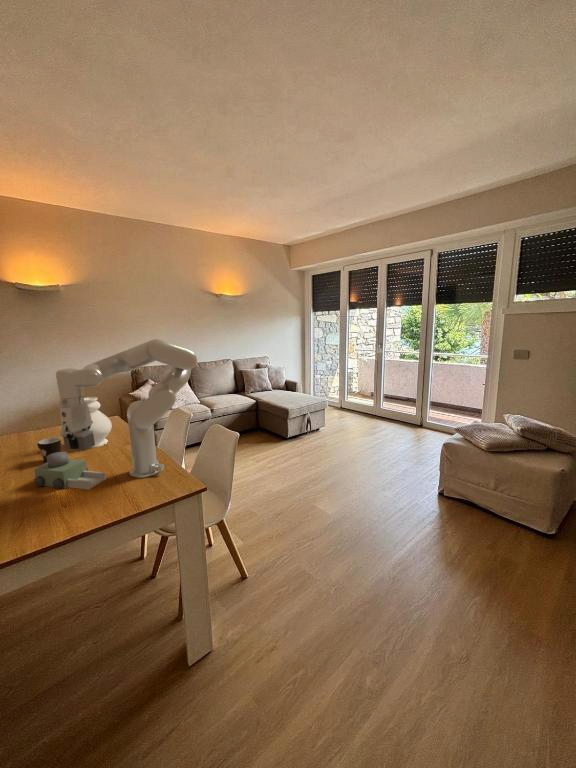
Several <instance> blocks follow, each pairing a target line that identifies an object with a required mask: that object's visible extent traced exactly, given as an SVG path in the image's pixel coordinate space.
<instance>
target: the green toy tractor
mask: <svg viewBox="0 0 576 768" xmlns="http://www.w3.org/2000/svg"><path fill="white" fill-rule="evenodd" d="M33 472H34V477H35V478H34V479H33V483H34V485H35V486H36V487H38V486H39V487H38V488H40V487H43V485H44V486H45V487H52V488H54V489H55V490H60V489H66V488H71V489H80V490H86V491H87V490H89V491H90V490H91V489H93V488H94V487H95V486H97V485H99V484H100V483H102V482H103V481H105V480H107V477H106V472H101V471H92V470H89V467H88V466H87V460H86V459H77V458H69V455H68V452H66V451H61V452H56V453H52V454H50V455H48V456H47V463H43V464H40V465H39V466H37V467H34V468H33Z"/></svg>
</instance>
